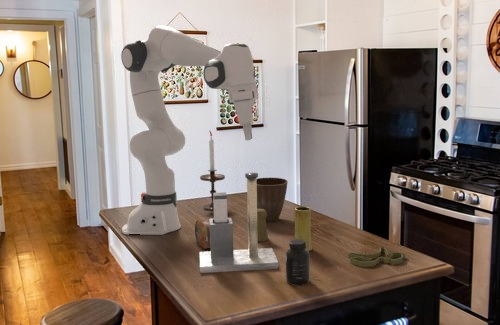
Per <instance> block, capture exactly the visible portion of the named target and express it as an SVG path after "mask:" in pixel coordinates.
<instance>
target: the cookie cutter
mask: <svg viewBox="0 0 500 325" xmlns="http://www.w3.org/2000/svg"><path fill="white" fill-rule="evenodd" d="M378 250H379V251H378V252H376V253H369V254H367V253H366V254H365V253H356V252H348V254H347V255H348V256H347V258H348V259H349V258H350V259H349V260H350V261H349V263H350V264H352V265H353V264H354V265H353V266H356V265H357V267H362V266H363V267H362V268H370V267H369V266H372V267H375V266H376V264H377V263H378V264H379V263H383V262H384V263H383V264H385V263H390V264H389V265H392V266H393V265H399V264H401V263H403V261H404V259H406V253H404V252H399V251H395V252H394V251H393V252H391V251H388V249H387V248H386V247H385V246H379V248H378ZM382 253H384V254H385V255H386V257H383V256H382ZM380 255H381V256H380ZM379 256H380V257H379ZM377 257H378V258H377ZM373 258H375V259H374V260H373ZM393 258H394V259H393ZM398 263H399V264H398ZM378 264H377V265H378ZM374 265H375V266H374Z"/></svg>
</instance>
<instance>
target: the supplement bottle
mask: <svg viewBox="0 0 500 325" xmlns="http://www.w3.org/2000/svg"><path fill="white" fill-rule="evenodd" d="M310 261H311V259H310V251H307V250H306V241H304V240H301V239H294V238H293V239H290V240H289V241H288V249H287V251H286V252H285V279H286V282H287V283H288V284H289V283H290V285H292V284H294V285H293V286H303V284H304V285H306V284H308V283H309V282H310V279H311V277H310V276H311V275H310V272H311V269H310V268H311V266H310Z"/></svg>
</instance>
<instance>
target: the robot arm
mask: <svg viewBox="0 0 500 325" xmlns="http://www.w3.org/2000/svg"><path fill="white" fill-rule="evenodd" d="M120 56H121V62H122V65H123V67H124V68H125V70H126V71H128V72H129V85H130V91H131V92H130V93H131V96H132V101H133V105H134V109H135V114H136V116H137V118H138V119H140V120H141V121H142V122H144V123H145V125H146V126H147V128H148V130H142V131H140V132H138V133H136V134H135V135H133V136H132V137H131V138H130V140H129V150H130V153H131V154H132V156H133V157H134V158H136V159H137V161H138V162H139V163H140V165H141V167H142V170H143V172H144V178H145V192H144V191H143V192H141V193H140V197H141V198H140V201H141V202H140V204H139V205H138V206H136V207H135V208H134V209H132V211H131V212H130V213H129V215H128V219H127V223H125V224H124V225H123V226H122V227H121V228H122V229H121V233H122V234H124V235H129V234H140V235H141V236H142V235H144V236H145V235H147V236H149V235H150V236H151V235H152V236H153V235H154V236H155V235H157V236H159V235H160V236H162V235H166V234H168V233H172V232H175V231H177V230H179V229H181V226H182V225H181V223H180V222H181V221H180V220H179V216H178V215H179V214H178V209H177V205H178V195H177V192H176V185H175V184H176V181H175V180H176V179H175V173H174V170H173V169H171V168H170V167H169V165H168V164H167V161H166V157H167V156H172V155H173V156H174V154H177V153H179V152H180V151H182V150H183V148H184V147H185V145H186V137H185V134H184V133H183V131H182V130H181V129H180V128H178V127H177V126H176V125H175V124H174V122H173V121H172V119H171V117H170V115H169V113H168V111H167V108H166V106H165V105H166V104H165V100H164V98H163V93H162V90H161V89H162V88H161V85H160V82H159V74H160V73H164V74H166V73H167V72H168V71H169V70H171V69H172V68H173V67H175V66H179V67H204V68H203V73H202V74H203V81H205V82H204V83H205V84H206V85H207V86H208V87H209V88H210V89H212V90H213V89H214V90H227V91H228V99H229V103H230V104H231V103H233V105H234V108H235V112H236V117H237V121H238V124H239V126H241V127H242V131H243V133H244V140H245V141H251V140H252V139H253V134H252V133H253V132H252V130H253V129H252V127H253V126H252V125H254V115H253V108H252V106H255V101H256V100H258V98H259V97H258V90H257V83H256V80H255V78H256V69H255V65H254V60H253V55H252V52H251V50H250V47H249V46H248V45H247V44H245V43H228V44H225V45H224V46H223V48H222V51H220V50H218V49H215V48H213V47H211V46H208V45H207V44H204V43H203V42H201V41H198V40H196V39H194V38H192V37H191V36H189V35H187V34H186V33H183V32H182V31H180V30H177V29H175V28H174V27H170V26H167V25H166V26H165V25H158V26H155V27H153V29H151V31H150V32H149V34H148V38H147V40H142V41H141V39H140V40H136V41H133V42H130V43H128V44H126V45H124V46H123V48H122V51H121V54H120ZM140 235H139V236H140Z"/></svg>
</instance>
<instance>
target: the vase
mask: <svg viewBox="0 0 500 325" xmlns="http://www.w3.org/2000/svg"><path fill="white" fill-rule="evenodd" d="M311 214H312V213H311V207H309V206H296V207H295V208H294V238H293V240H294V239H301V240H304V241H306V250H307V251H308V252H310V251H312V250H313V247H312V233H311V232H312V231H311V223H312V222H311V221H312V220H311V218H312V217H311V216H312V215H311Z"/></svg>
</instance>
